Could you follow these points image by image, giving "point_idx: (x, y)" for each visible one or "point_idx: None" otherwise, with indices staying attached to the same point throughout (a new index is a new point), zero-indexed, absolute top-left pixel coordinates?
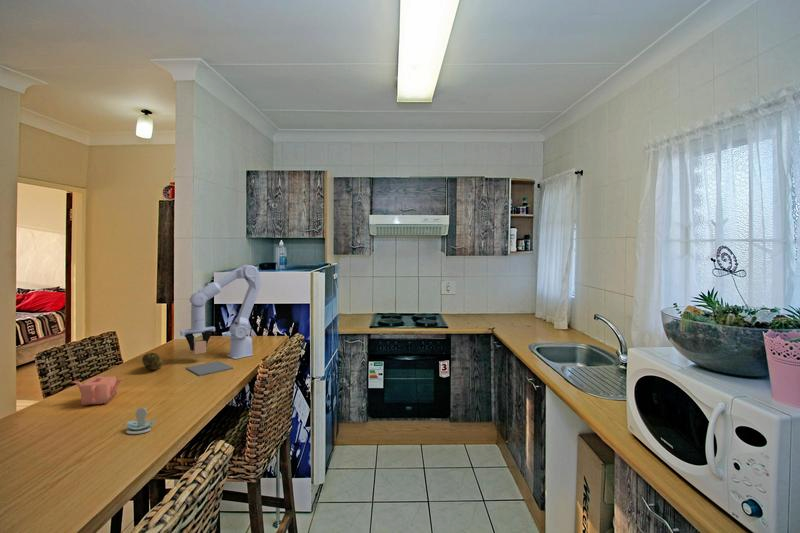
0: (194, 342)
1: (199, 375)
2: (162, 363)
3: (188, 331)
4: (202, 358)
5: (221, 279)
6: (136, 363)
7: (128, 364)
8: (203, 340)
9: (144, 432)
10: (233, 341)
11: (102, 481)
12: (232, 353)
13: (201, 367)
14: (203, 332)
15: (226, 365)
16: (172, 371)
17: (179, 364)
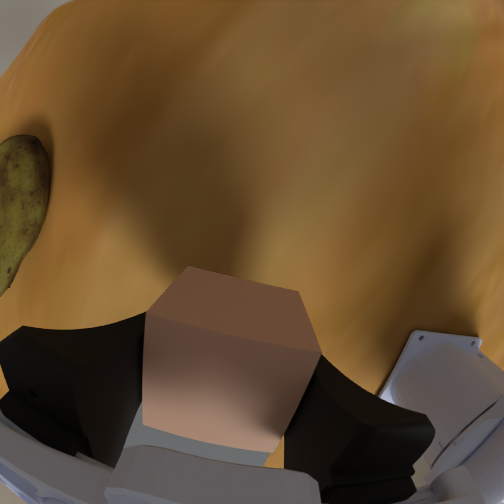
0: (153, 404)
1: (123, 448)
2: (30, 243)
3: (15, 486)
4: (310, 243)
5: None
6: (52, 46)
7: (36, 45)
8: (286, 413)
9: None
10: (427, 454)
11: None
12: (400, 396)
13: None
14: (328, 485)
15: (257, 461)
16: (63, 326)
17: (128, 243)
